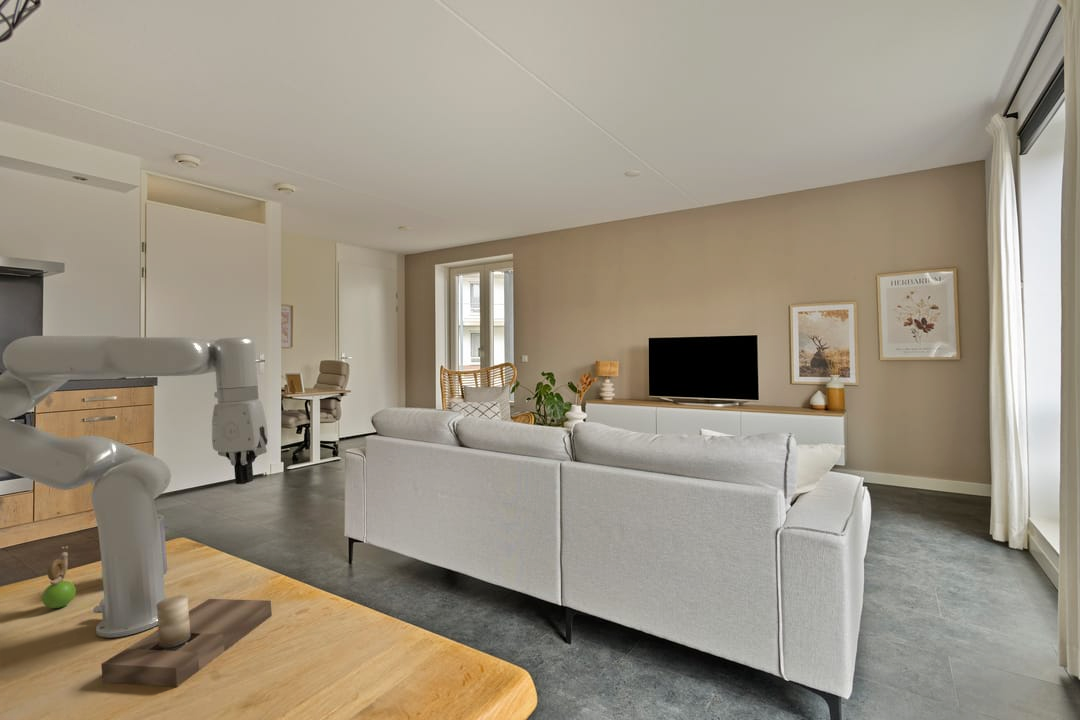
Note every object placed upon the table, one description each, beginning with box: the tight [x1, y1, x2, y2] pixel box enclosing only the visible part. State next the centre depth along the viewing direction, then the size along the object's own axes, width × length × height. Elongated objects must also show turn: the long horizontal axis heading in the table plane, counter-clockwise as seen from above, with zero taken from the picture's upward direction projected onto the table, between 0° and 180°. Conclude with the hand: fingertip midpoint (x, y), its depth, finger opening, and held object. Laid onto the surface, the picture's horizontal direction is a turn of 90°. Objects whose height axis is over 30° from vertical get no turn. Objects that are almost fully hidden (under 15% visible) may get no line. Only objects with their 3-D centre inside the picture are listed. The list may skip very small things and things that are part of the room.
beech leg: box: [157, 595, 191, 651], centre depth 91 cm, size 4×4×10 cm
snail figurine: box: [41, 546, 77, 609], centre depth 115 cm, size 5×6×12 cm
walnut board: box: [100, 598, 273, 688], centre depth 95 cm, size 14×22×3 cm, turn 170°
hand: (244, 482), depth 111 cm, fingers closed
